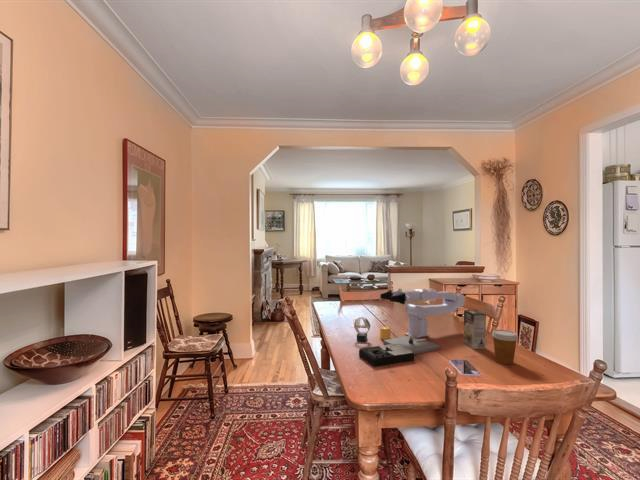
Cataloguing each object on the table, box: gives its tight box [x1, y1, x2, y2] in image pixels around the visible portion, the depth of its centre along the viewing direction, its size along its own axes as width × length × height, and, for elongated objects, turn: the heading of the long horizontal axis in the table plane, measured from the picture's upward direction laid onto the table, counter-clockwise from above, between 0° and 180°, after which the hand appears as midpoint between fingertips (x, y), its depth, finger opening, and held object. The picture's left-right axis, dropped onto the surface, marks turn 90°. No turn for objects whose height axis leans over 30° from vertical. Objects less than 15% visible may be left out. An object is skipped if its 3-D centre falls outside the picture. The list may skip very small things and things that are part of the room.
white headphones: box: [350, 318, 366, 329], centre depth 191 cm, size 9×8×4 cm
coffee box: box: [463, 309, 487, 350], centre depth 157 cm, size 9×6×16 cm
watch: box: [353, 316, 371, 343], centre depth 166 cm, size 6×8×11 cm
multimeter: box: [358, 344, 415, 368], centre depth 141 cm, size 13×19×5 cm
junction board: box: [382, 335, 441, 355], centre depth 157 cm, size 18×18×2 cm
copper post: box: [409, 335, 413, 344], centre depth 157 cm, size 2×2×4 cm
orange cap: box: [379, 326, 392, 341], centre depth 169 cm, size 5×5×5 cm
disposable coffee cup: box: [491, 329, 519, 365], centre depth 138 cm, size 10×10×12 cm
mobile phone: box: [448, 359, 482, 377], centre depth 131 cm, size 8×1×15 cm
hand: (385, 297), depth 165 cm, fingers open, 7 cm apart
